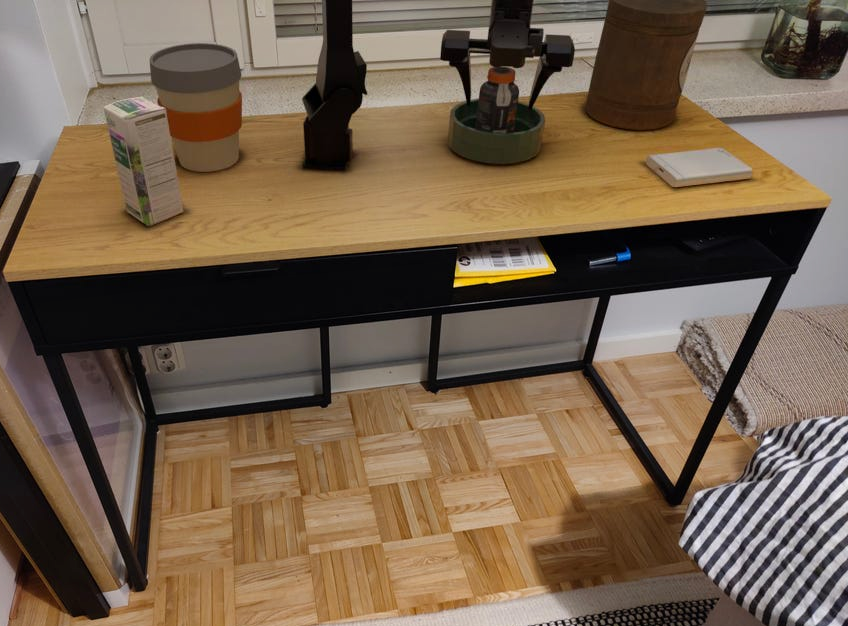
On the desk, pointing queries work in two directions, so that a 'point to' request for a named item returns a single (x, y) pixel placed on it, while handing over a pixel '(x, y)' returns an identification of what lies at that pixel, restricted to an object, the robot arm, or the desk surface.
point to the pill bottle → (498, 101)
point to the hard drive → (698, 167)
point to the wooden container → (643, 61)
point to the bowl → (495, 135)
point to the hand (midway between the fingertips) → (499, 107)
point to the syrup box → (144, 159)
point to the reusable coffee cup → (200, 102)
